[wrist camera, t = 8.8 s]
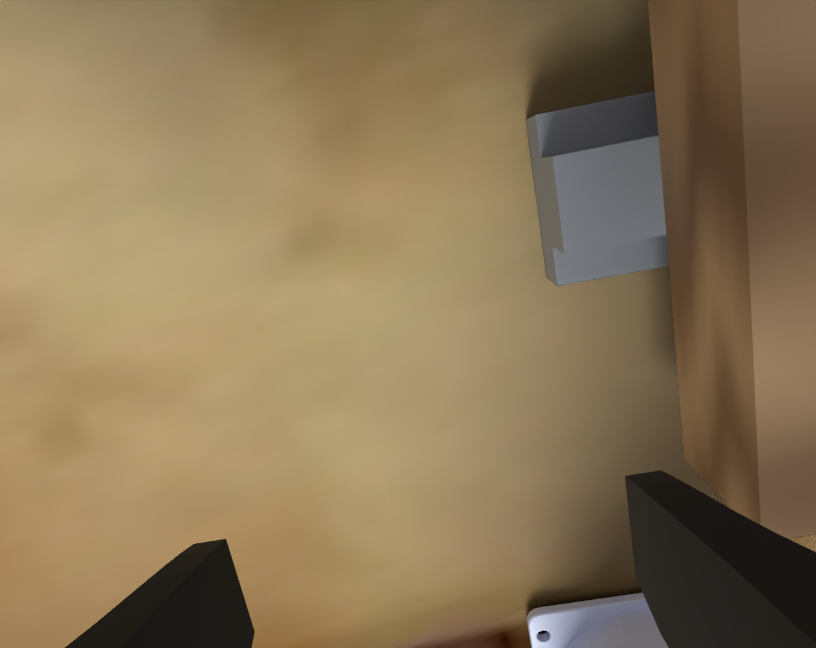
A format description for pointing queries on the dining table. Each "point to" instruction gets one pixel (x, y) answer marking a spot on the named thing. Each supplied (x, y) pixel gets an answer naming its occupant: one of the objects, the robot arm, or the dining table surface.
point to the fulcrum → (599, 189)
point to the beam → (742, 245)
